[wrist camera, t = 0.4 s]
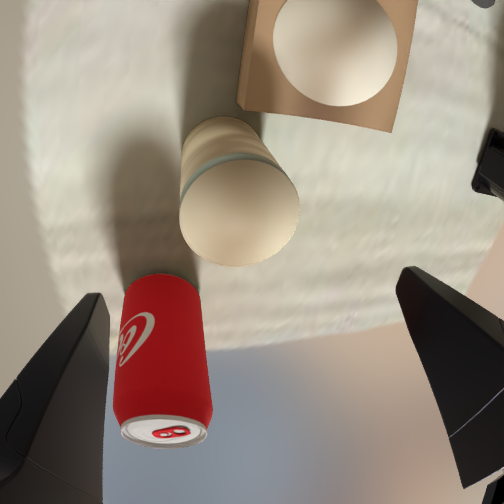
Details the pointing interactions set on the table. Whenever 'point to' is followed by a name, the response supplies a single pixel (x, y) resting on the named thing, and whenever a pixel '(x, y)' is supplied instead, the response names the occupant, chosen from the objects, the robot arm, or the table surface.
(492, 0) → the sundae
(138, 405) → the beverage can
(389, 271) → the table surface
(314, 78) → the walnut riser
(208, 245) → the birch cylinder
